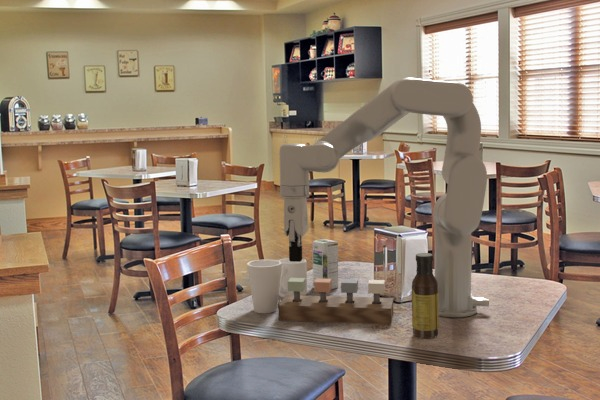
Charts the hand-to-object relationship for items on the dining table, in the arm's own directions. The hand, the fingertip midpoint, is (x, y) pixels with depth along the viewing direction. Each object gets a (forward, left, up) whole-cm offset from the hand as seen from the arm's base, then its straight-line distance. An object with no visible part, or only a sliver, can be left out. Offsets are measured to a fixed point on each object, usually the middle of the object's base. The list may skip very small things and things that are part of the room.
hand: (295, 260), depth 196 cm
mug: (+5, -18, -15) cm, 24 cm away
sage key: (0, 0, -11) cm, 11 cm away
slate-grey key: (-14, 0, -11) cm, 18 cm away
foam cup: (+9, -4, -15) cm, 18 cm away
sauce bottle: (-34, +13, -15) cm, 39 cm away
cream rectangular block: (-21, 0, -11) cm, 24 cm away
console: (-11, 0, -15) cm, 18 cm away
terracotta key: (-7, 0, -11) cm, 13 cm away
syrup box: (-4, -29, -15) cm, 33 cm away
